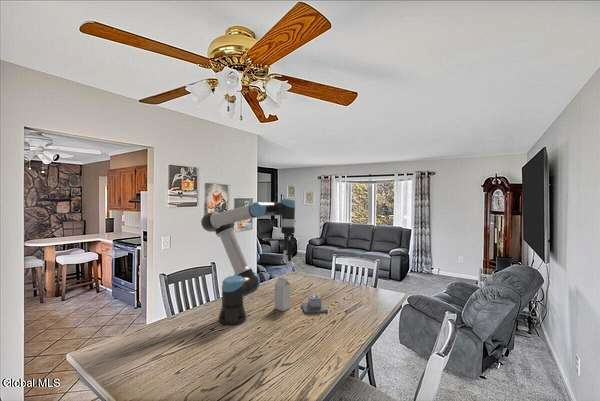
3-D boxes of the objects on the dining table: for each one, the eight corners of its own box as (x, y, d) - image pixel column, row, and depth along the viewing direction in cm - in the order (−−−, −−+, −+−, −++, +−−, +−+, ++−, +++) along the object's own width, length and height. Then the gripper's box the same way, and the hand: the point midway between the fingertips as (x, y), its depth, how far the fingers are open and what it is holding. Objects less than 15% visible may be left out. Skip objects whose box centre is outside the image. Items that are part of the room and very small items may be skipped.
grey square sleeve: (309, 308, 175) (310, 298, 175) (307, 304, 182) (307, 295, 182) (321, 308, 176) (321, 298, 176) (318, 304, 183) (318, 294, 183)
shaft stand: (305, 313, 171) (305, 300, 171) (301, 305, 184) (301, 292, 184) (327, 312, 173) (328, 299, 173) (322, 304, 187) (322, 291, 187)
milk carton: (283, 311, 174) (283, 280, 174) (274, 308, 178) (274, 278, 178) (290, 308, 179) (290, 277, 179) (281, 305, 184) (282, 275, 184)
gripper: (298, 228, 149) (297, 269, 149) (291, 224, 174) (290, 259, 174) (284, 228, 148) (283, 269, 148) (279, 224, 173) (278, 259, 173)
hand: (287, 264), depth 161 cm, fingers open, 13 cm apart
